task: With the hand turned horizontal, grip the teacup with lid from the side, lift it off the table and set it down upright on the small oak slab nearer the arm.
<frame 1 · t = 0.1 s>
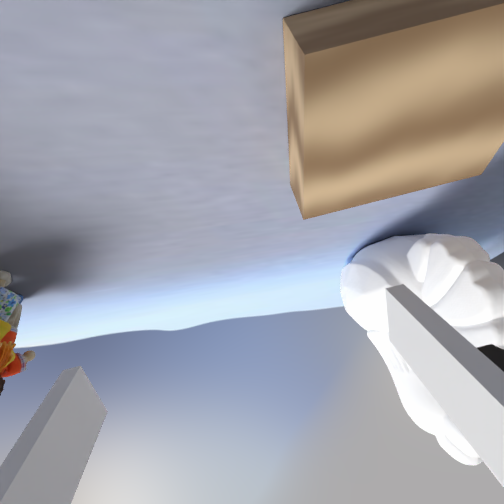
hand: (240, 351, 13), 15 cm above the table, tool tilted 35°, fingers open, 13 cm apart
decorative rooster: (395, 237, 40), on the table
oak slab: (389, 96, 22), on the table
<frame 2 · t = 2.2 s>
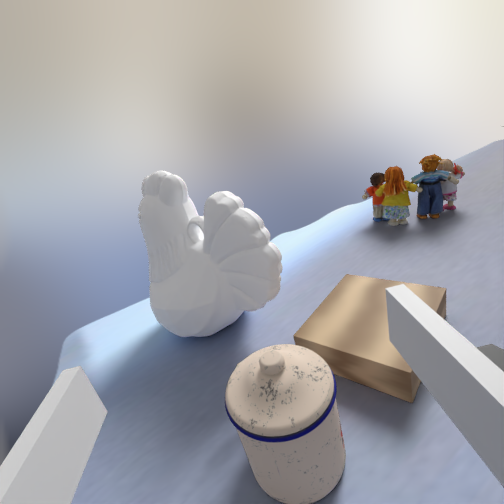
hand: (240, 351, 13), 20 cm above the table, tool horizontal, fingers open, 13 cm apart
decorative rooster: (224, 326, 50), on the table
teacup with lid: (287, 444, 30), on the table
oak slab: (373, 337, 39), on the table
doll family: (417, 219, 69), on the table
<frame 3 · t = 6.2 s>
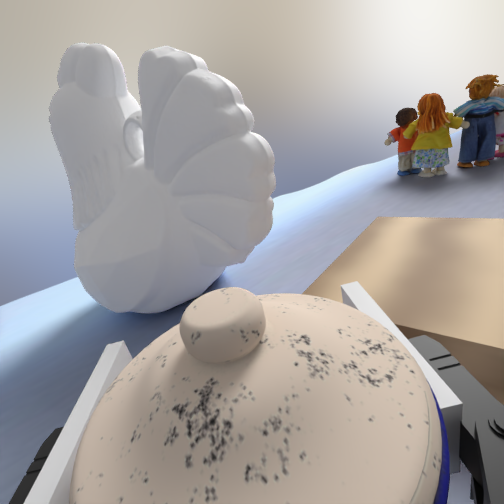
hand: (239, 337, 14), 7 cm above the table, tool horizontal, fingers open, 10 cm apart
decorative rooster: (189, 300, 33), on the table
oak slab: (435, 308, 22), on the table
doll family: (459, 169, 52), on the table
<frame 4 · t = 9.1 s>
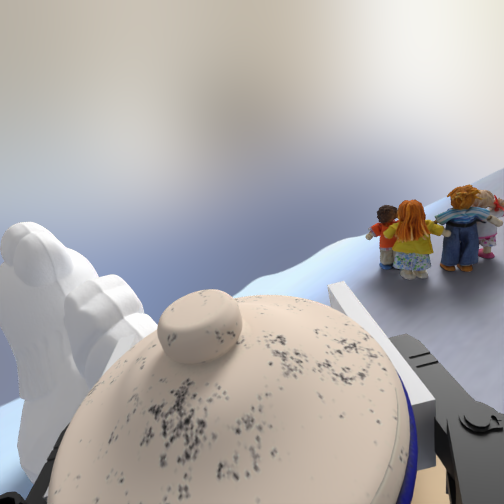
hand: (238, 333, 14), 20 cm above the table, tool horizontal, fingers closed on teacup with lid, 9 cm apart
decorative rooster: (142, 464, 31), on the table
doll family: (441, 270, 50), on the table
when the fingers open (12 cm above the table, at t = 11.5 s): teacup with lid drops 1 cm, resting on oak slab.
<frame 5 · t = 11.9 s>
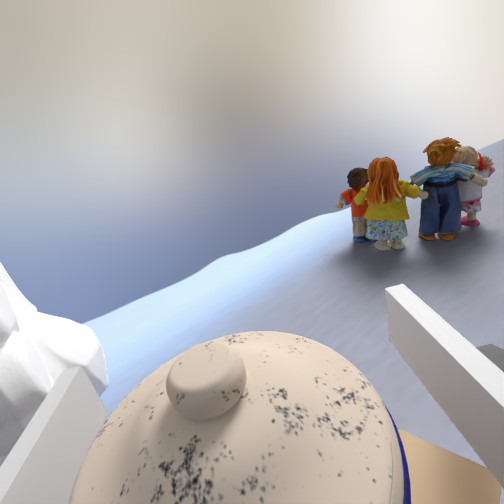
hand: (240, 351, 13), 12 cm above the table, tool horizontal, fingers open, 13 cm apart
decorative rooster: (38, 465, 25), on the table
doll family: (420, 240, 44), on the table
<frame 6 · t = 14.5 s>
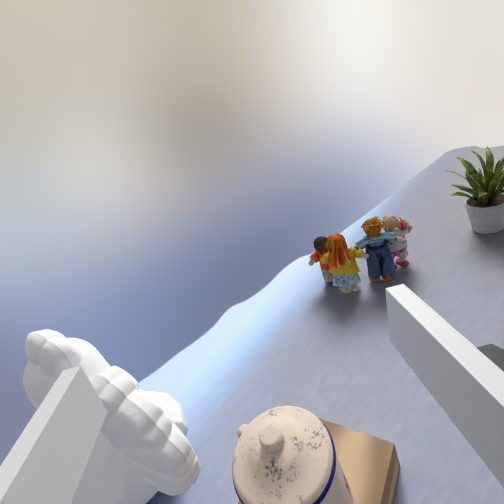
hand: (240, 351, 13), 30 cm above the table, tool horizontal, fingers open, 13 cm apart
house plant: (496, 227, 63), on the table
decorative rooster: (157, 483, 42), on the table
teacup with lid: (298, 497, 31), point 4 cm above the table, touching oak slab
doll family: (370, 281, 63), on the table
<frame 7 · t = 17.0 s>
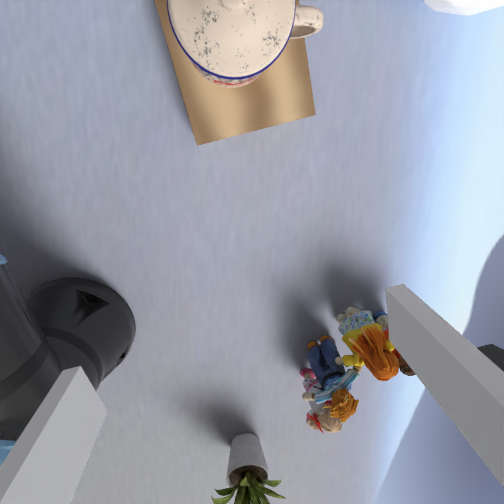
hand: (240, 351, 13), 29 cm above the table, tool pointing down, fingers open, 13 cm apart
house plant: (238, 444, 57), on the table
teacup with lid: (244, 38, 30), point 4 cm above the table, touching oak slab
oak slab: (236, 57, 34), on the table
doll family: (330, 335, 50), on the table
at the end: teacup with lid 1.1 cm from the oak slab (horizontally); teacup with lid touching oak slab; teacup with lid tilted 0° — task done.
